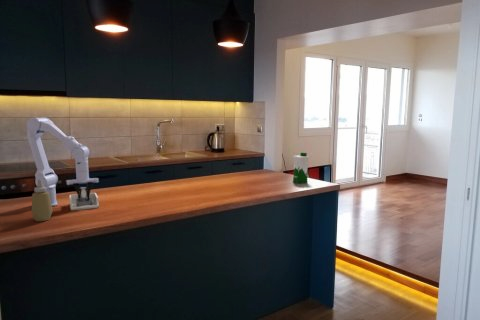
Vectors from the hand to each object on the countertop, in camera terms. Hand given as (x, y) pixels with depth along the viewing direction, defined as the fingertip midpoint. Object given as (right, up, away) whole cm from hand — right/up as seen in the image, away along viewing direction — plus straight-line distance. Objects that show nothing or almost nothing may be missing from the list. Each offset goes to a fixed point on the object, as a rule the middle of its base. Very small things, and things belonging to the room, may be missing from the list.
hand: (83, 197), depth 182 cm
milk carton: (+119, +3, +64) cm, 135 cm away
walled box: (0, -4, +1) cm, 4 cm away
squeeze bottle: (-9, -8, -22) cm, 25 cm away
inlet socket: (0, -4, +1) cm, 4 cm away
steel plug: (0, -2, 0) cm, 2 cm away
